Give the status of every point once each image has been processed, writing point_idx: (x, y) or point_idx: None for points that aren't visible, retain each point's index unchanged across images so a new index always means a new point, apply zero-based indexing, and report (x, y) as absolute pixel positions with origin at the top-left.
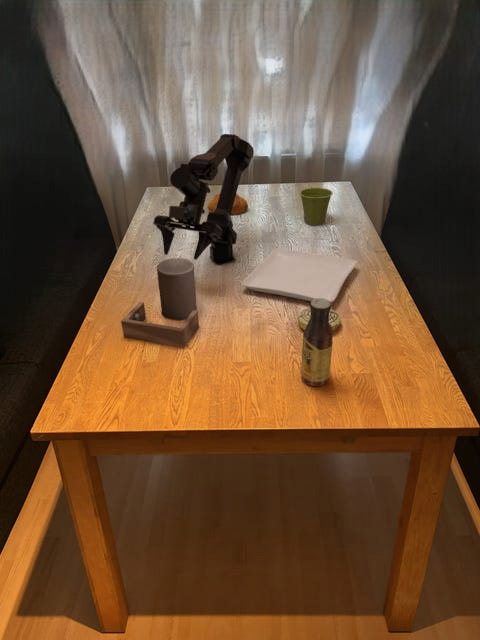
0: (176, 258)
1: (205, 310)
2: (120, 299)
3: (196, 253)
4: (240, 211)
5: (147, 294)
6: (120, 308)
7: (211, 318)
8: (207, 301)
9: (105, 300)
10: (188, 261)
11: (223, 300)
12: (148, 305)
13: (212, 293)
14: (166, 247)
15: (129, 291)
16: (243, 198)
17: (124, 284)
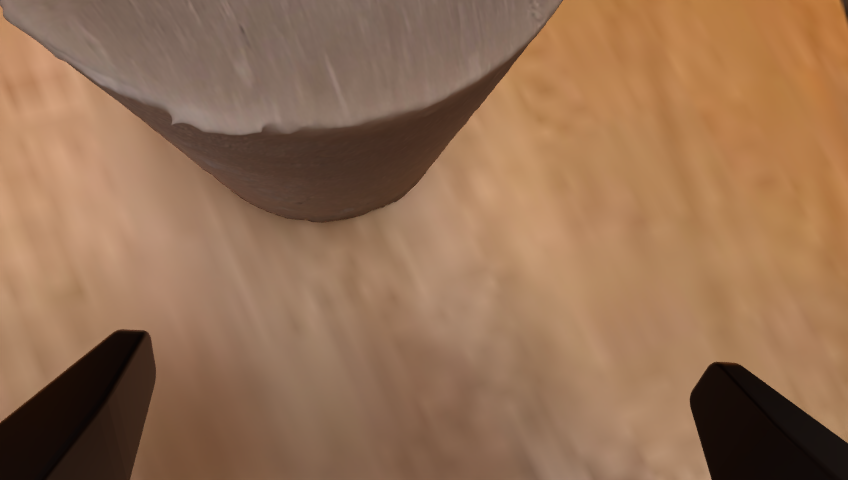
0: (401, 79)
1: (125, 152)
2: (765, 141)
3: (53, 397)
4: None
5: (638, 252)
6: (707, 36)
7: (31, 53)
8: (162, 285)
9: (840, 105)
10: (100, 12)
11: (32, 339)
12: (560, 114)
13: (170, 419)
14: (788, 447)
15: (767, 255)
16: None
17: (844, 335)
